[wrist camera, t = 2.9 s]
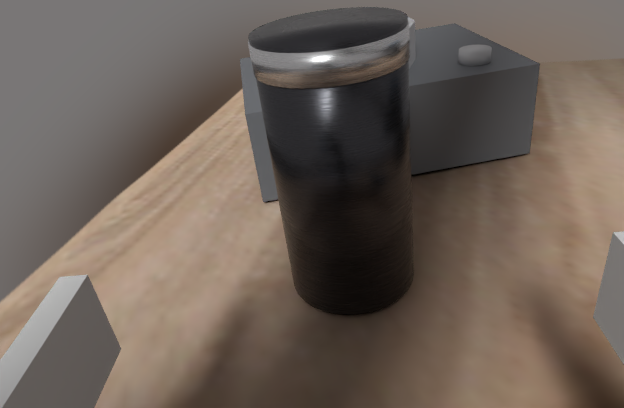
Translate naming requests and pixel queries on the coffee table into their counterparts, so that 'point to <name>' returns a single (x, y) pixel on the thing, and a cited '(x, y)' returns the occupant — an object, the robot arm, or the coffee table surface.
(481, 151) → the camera body
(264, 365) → the coffee table surface
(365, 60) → the lens
